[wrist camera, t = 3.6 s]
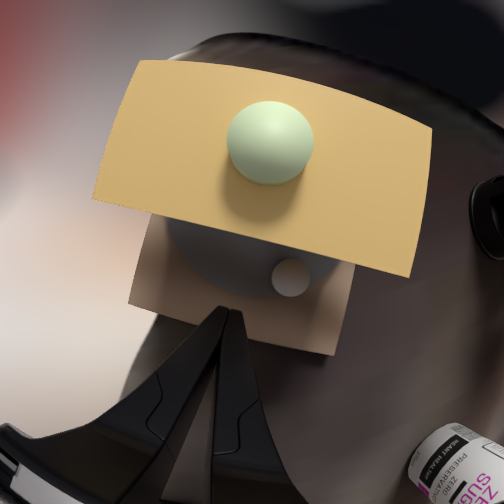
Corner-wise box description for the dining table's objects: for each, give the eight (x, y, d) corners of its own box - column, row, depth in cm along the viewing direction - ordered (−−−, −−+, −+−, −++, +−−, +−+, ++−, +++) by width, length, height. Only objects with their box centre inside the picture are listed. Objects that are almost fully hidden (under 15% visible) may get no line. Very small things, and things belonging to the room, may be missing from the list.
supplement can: (455, 460, 19) (527, 507, 4) (401, 489, 19) (465, 559, 4) (465, 409, 20) (556, 449, 5) (407, 439, 20) (497, 510, 5)
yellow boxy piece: (348, 258, 18) (433, 285, 8) (159, 211, 18) (67, 194, 8) (367, 172, 18) (454, 126, 8) (182, 128, 18) (120, 48, 8)
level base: (328, 351, 21) (344, 363, 17) (135, 302, 21) (113, 304, 17) (365, 134, 24) (382, 112, 20) (204, 94, 24) (198, 68, 20)
